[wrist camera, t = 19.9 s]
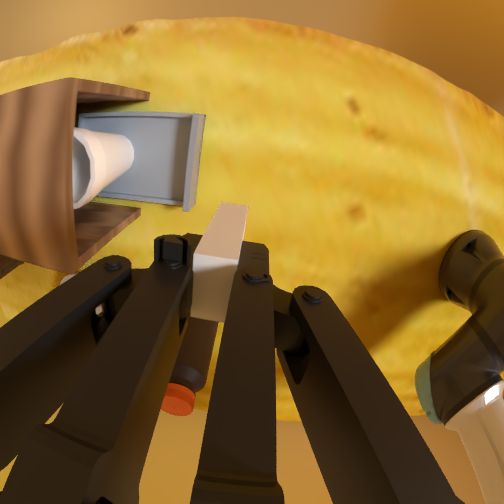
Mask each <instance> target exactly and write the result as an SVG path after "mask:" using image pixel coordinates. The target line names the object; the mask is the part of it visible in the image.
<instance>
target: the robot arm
mask: <svg viewBox="0 0 504 504" xmlns="http://www.w3.org/2000/svg"><path fill="white" fill-rule="evenodd" d="M247 212H248V206H246V205H239V204H233V203H226V202H221V203H220V205H219V207H218V209H217V211H216V212H215V214H214V216H213V218H212V220H211V222H210V223H209V225H208V227H207V229H206V231H205V233H204V235H197V234H190V233H187V234H185V235H183V236H180V235H171V234H170V235H162V236H159V237H157V238H156V239H154V262H153V263H152V265H151V266H150V267H149V268H146V269H132V268H131V262H130V260H129V259H127V258H125V257H122V256H119V255H116V256H115V255H111V256H108V257H104V258H102V259H100V260H98V261H97V262H95V263H93V264H92V265H90V266H89V267H87V268H86V269H84V270H82V271H81V272H79V273H78V274H76V275H75V276H73V277H72V278H70V279H69V280H67V281H65V282H64V283H62V284H61V285H59V286H58V287H56V288H55V289H54V290H52V291H51V292H49V293H48V294H46V295H45V296H43V297H42V298H40V299H39V300H38V301H36V302H35V303H33V304H32V305H30V306H29V307H28V308H26V309H25V310H24V311H22V312H21V313H19V314H18V315H17V316H15V317H14V318H13V319H11V320H10V321H9V322H7V323H6V324H5V325H3V326H2V327H1V328H0V471H1V470H2V469H4V468H5V467H6V466H7V465H8V464H9V463H10V462H11V461H12V460H13V459H14V458H15V457H16V456H17V455H18V456H17V458H16V460H15V462H14V465H13V467H12V469H11V471H10V474H9V476H8V478H7V481H6V483H5V486H4V488H3V491H1V492H0V504H139V483H140V478H141V475H142V471H143V467H144V463H145V460H146V456H147V453H148V449H149V446H150V443H151V439H152V436H153V432H154V429H155V425H156V422H157V419H158V415H159V412H160V409H161V406H162V402H163V399H164V396H165V393H166V390H167V386H168V383H169V380H170V377H171V374H172V371H173V368H174V365H175V362H176V359H177V355H178V352H179V349H180V346H181V343H182V341H183V338H184V335H185V332H186V329H187V326H188V313H189V311H190V308H191V315H190V317H195V318H200V319H206V320H212V321H218V322H224V328H223V333H222V338H221V344H220V349H219V354H218V359H217V365H216V370H215V375H214V381H213V386H212V392H211V397H210V402H209V408H208V413H207V419H206V425H205V430H204V436H203V442H202V447H201V453H200V459H199V464H198V470H197V474H196V477H195V480H194V484H193V489H192V495H191V501H190V504H284V494H283V490H282V487H281V486H280V485H279V483H278V482H277V474H276V379H275V348H277V355H278V358H279V361H280V363H281V366H282V369H283V372H284V374H285V377H286V380H287V383H288V385H289V388H290V391H291V393H292V396H293V399H294V402H295V404H296V407H297V410H298V412H299V415H300V418H301V420H302V423H303V426H304V428H305V431H306V434H307V436H308V439H309V442H310V444H311V447H312V450H313V452H314V455H315V458H316V460H317V463H318V466H319V468H320V471H321V473H322V476H323V479H324V481H325V484H326V487H327V489H328V492H329V494H330V497H331V499H332V502H333V504H465V503H464V502H463V501H461V500H460V499H459V498H458V497H457V496H455V494H454V492H453V490H452V488H451V486H450V484H449V483H448V481H447V479H446V477H445V476H444V474H443V472H442V470H441V468H440V467H439V465H438V463H437V461H436V460H435V458H434V456H433V455H432V453H431V451H430V449H429V448H428V446H427V444H426V443H425V441H424V439H423V438H422V436H421V434H420V433H419V431H418V429H417V428H416V426H415V424H414V423H413V421H412V419H411V418H410V416H409V415H408V413H407V411H406V410H405V408H404V406H403V405H402V403H401V402H400V400H399V399H398V397H397V395H396V394H395V392H394V391H393V389H392V388H391V386H390V384H389V383H388V381H387V380H386V378H385V377H384V375H383V374H382V372H381V371H380V369H379V367H378V366H377V364H376V363H375V361H374V360H373V358H372V357H371V355H370V354H369V352H368V351H367V349H366V348H365V346H364V345H363V343H362V342H361V340H360V339H359V337H358V336H357V335H356V333H355V332H354V330H353V329H352V327H351V326H350V324H349V323H348V321H347V320H346V318H345V317H344V316H343V314H342V313H341V311H340V310H339V308H338V307H337V306H336V304H335V303H334V301H333V300H332V298H331V297H330V296H329V295H328V294H327V293H326V292H325V291H323V290H321V289H320V288H318V287H315V286H306V285H305V286H299V287H297V288H295V289H294V291H293V294H292V293H289V292H286V291H284V290H281V289H279V288H277V287H276V286H275V285H273V280H272V277H271V276H270V275H269V250H268V248H267V247H266V246H265V245H264V244H260V243H254V242H247V241H243V238H244V231H245V225H246V218H247ZM439 285H440V289H441V291H442V293H443V294H444V295H445V296H446V298H447V299H448V300H449V301H450V302H452V303H454V304H456V305H458V306H460V307H462V308H464V309H466V310H468V311H470V312H471V313H472V316H471V317H470V318H469V319H468V320H467V321H466V322H465V323H464V324H463V325H462V326H461V327H460V328H459V329H458V330H457V331H456V332H455V333H454V334H453V335H452V336H451V337H450V338H448V339H447V340H446V341H445V342H444V343H443V344H442V345H441V346H440V347H439V348H437V349H436V350H435V351H433V352H432V353H431V354H430V356H429V357H428V358H427V359H426V360H425V361H424V362H422V363H421V364H420V365H419V367H418V368H417V370H416V374H415V387H416V391H417V395H418V398H419V401H420V404H421V406H422V408H423V410H424V411H425V412H426V414H427V417H428V418H429V420H430V421H431V422H433V423H435V424H441V423H443V424H444V426H445V428H446V429H449V430H455V431H457V432H458V433H459V436H460V438H461V440H462V443H463V444H464V447H465V449H466V452H467V454H468V457H469V459H470V461H471V464H472V467H473V469H474V472H475V475H476V477H477V480H478V483H479V486H480V488H481V491H482V494H483V497H484V500H485V503H486V504H504V400H503V398H502V393H503V388H504V381H503V379H502V378H501V376H500V374H501V373H502V372H503V371H504V256H503V254H502V253H501V251H500V249H499V248H498V246H497V245H496V243H495V241H494V240H493V239H492V238H491V237H490V236H489V235H487V234H486V233H484V232H482V231H479V230H473V231H469V232H467V233H465V234H463V235H462V236H461V237H459V238H458V239H457V240H456V241H455V242H454V243H453V244H452V246H451V247H450V248H449V250H448V252H447V253H446V255H445V257H444V259H443V262H442V264H441V268H440V272H439ZM99 305H101V307H102V312H101V313H99V314H96V310H95V309H96V308H97V307H98V306H99ZM62 404H63V405H62ZM61 405H62V407H61V409H60V411H59V413H58V414H57V416H56V418H55V419H54V421H53V422H52V423H50V424H45V423H46V422H47V420H48V419H49V418H50V417H51V416H52V415H53V414H54V413H55V412H56V410H57V409H58V408H59V407H60V406H61Z"/></svg>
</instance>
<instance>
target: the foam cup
mask: <svg viewBox="0 0 504 504" xmlns="http://www.w3.org/2000/svg"><path fill="white" fill-rule="evenodd" d="M133 160H134V149H133V146H132V144H131V141H130V140H129V139H127V138H126V137H125V136H124V135H119V134H114V133H107V132H99V131H91V130H88V129H83V128H77V127H74V135H73V161H72V181H73V208H74V209H77V208H80V207H82V206H83V205H85V204H87V203H89V202H90V201H91V200H92V199H93V198H94V197H95V196H96V195H97V194H98V193H99V192H100V191H101V190H103V189H104V188H105V187H107V186H108V185H109V184H110V183H112V182H113V181H114V180H116V179H117V178H118V177H120V176H121V175H122V174H123V173H125V172H126V171H127V170H128V169H129V168H130V166H131V164H132V162H133Z"/></svg>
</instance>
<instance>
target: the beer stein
mask: <svg viewBox="0 0 504 504" xmlns="http://www.w3.org/2000/svg"><path fill="white" fill-rule="evenodd" d="M23 263H24V261H20V260H17V259H14V258H11V257H7V256H4V255H1V254H0V279H1V278H2V277H4V276H5V275H7V274H8V273H9V272H11V271H12V270H13V269H15V268H16V267H17V266H19V265H21V264H23Z"/></svg>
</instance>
